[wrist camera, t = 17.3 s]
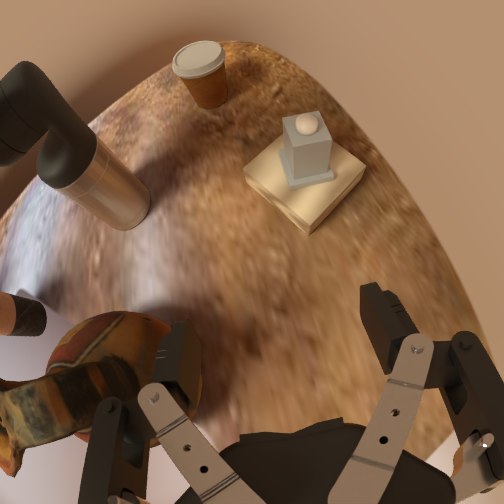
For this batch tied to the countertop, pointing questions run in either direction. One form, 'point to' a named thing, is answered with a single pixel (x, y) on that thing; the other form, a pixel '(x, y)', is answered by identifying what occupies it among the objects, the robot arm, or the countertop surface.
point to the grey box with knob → (305, 150)
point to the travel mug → (21, 316)
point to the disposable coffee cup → (203, 72)
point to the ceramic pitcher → (80, 383)
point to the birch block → (306, 198)
